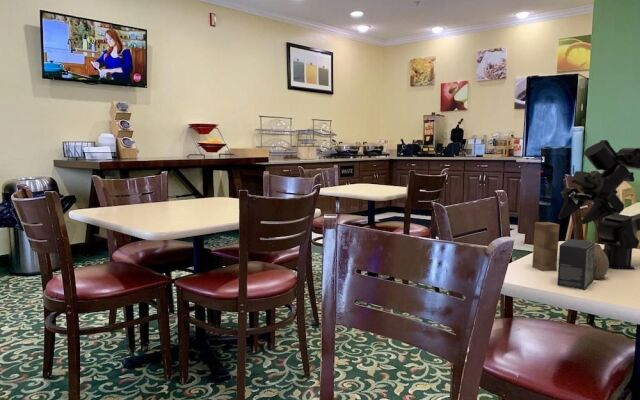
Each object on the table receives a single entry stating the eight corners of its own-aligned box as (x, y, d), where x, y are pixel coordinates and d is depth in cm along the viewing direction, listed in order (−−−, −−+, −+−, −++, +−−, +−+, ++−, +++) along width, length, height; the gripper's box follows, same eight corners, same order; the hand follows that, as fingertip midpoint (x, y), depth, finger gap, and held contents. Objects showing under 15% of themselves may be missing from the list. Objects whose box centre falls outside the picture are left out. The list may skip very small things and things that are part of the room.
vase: (573, 273, 127) (575, 241, 126) (600, 274, 126) (603, 242, 125) (584, 279, 120) (586, 246, 119) (612, 281, 119) (615, 247, 118)
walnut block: (546, 266, 134) (549, 222, 132) (556, 270, 129) (559, 224, 128) (532, 267, 133) (535, 222, 132) (542, 271, 129) (545, 224, 127)
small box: (565, 276, 123) (567, 237, 122) (593, 281, 119) (596, 241, 118) (555, 285, 115) (558, 243, 114) (585, 290, 111) (588, 247, 110)
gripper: (568, 160, 139) (532, 197, 139) (618, 162, 121) (577, 204, 120) (589, 186, 142) (554, 223, 141) (641, 192, 123) (601, 234, 123)
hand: (570, 220), depth 131 cm, fingers open, 9 cm apart
